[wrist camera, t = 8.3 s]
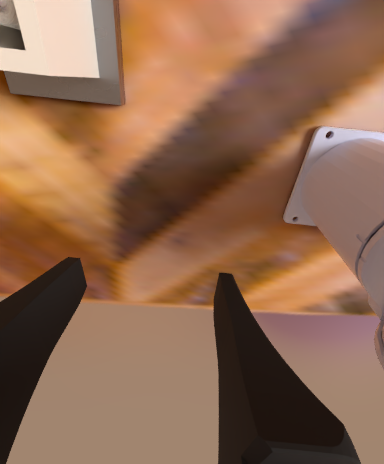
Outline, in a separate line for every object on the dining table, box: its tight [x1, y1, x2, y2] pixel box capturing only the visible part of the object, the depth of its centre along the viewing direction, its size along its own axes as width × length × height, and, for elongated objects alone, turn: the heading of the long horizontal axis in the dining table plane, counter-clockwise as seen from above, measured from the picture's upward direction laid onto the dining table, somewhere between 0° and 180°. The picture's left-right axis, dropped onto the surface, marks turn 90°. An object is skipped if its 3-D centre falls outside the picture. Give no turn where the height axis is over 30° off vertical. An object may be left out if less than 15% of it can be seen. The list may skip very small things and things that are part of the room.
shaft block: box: [0, 0, 125, 105], centre depth 11 cm, size 8×8×6 cm
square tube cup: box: [0, 0, 99, 78], centre depth 11 cm, size 5×5×6 cm
